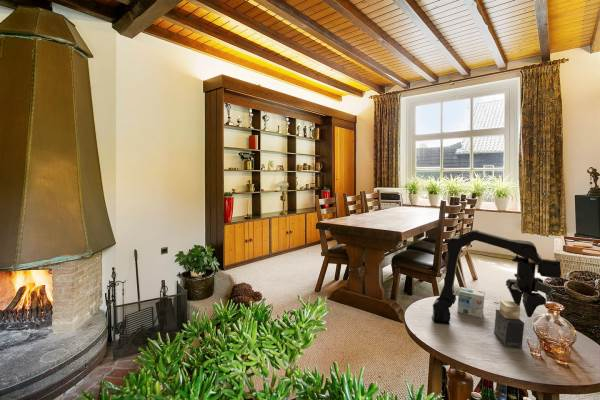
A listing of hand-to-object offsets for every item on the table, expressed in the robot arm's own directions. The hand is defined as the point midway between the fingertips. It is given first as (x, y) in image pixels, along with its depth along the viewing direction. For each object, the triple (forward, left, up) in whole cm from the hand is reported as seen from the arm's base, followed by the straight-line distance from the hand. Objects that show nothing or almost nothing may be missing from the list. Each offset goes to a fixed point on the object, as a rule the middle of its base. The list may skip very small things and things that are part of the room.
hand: (523, 311), depth 120 cm
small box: (-5, 0, -13) cm, 14 cm away
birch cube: (-5, 0, -2) cm, 5 cm away
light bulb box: (-12, +23, -13) cm, 29 cm away
